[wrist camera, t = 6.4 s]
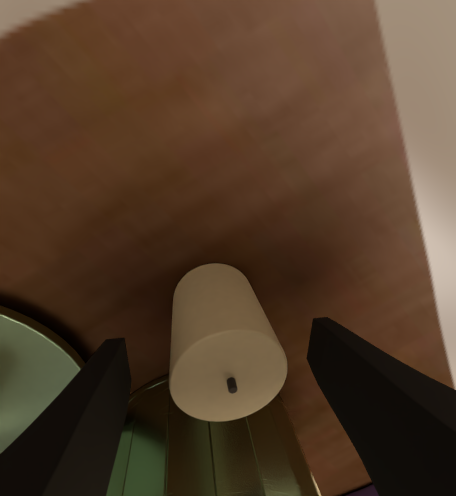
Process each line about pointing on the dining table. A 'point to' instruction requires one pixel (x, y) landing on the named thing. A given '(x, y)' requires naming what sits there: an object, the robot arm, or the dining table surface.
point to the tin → (207, 451)
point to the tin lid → (30, 371)
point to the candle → (222, 347)
